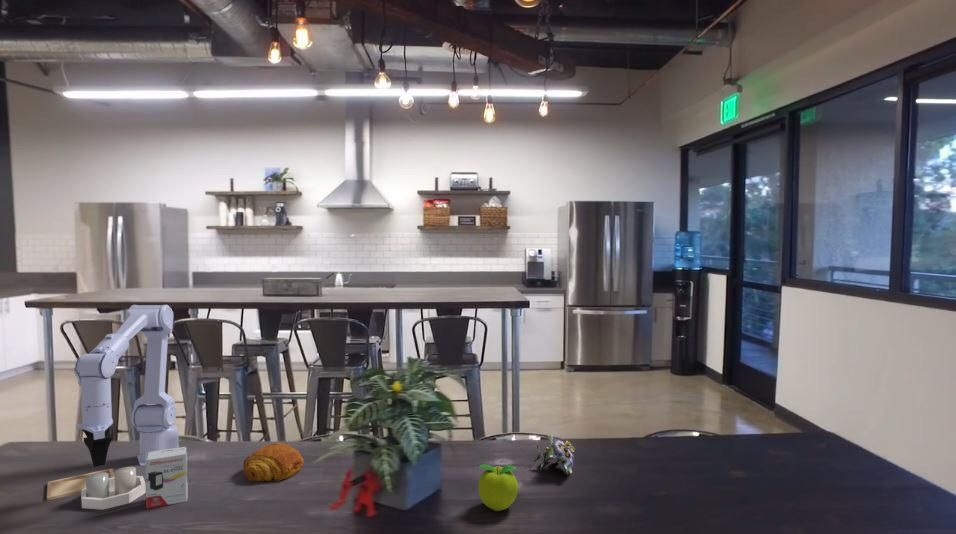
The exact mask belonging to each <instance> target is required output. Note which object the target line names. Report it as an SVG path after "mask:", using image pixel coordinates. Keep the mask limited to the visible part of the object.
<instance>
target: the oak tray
mask: <svg viewBox="0 0 956 534" xmlns="http://www.w3.org/2000/svg"><path fill="white" fill-rule="evenodd" d="M114 472H115V471H114V469H113V468H107V469H103V470H99V471H93V472H89V473H85V474H79V475H74V476H70V477H65V478H60V479H56V480H51V481H47V489H46V501H52V500H55V499H60V498H64V497H70V496H74V495H78V494H81V490H82V489H84V488H86V478H87V477H88V476H90V475H93V474H96V473H108V474H109V478H113V477H114Z"/></svg>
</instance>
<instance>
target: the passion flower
mask: <svg viewBox="0 0 956 534" xmlns="http://www.w3.org/2000/svg"><path fill="white" fill-rule="evenodd" d="M547 439H548V442H549V444H550V445H551V446H550V448H549V447H546V448H545V450H544V452H540V450H539V445H538V443H537V444H534V445H535V446H534V447H535V449H536V451H538V453H539V454H538V455H537V456H536V457H535V458H534V460H533V463H535V462H537V461H538V460H539V459H541V464H540V469H539V471H541V470H542V469H543V467H545V466H546V465H547V463H548V462H549V461H551V460H555V463H556V462H557V463H559V462H560V463H561V465H560V467H561V470H562V471H563V473H564V474H565V475H572V474H573V471H572V468H573V466H574V461H575V460H574V457H575V455H574V454H575V453H576V452H577V451H576V448H575V447H574V446H573V445H572V443H571V442H572V441H571V440H570V439H569V440H566V441H565V443H564V441H563V440H561V439H560V438H556V437H554V435H551V436H550V435H547ZM573 453H574V454H573ZM571 473H572V474H571Z"/></svg>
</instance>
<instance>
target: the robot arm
mask: <svg viewBox="0 0 956 534" xmlns="http://www.w3.org/2000/svg"><path fill="white" fill-rule="evenodd" d="M125 314H126V315H125V320H124V322H123V323H122V324H121V325H120V327H119V328H118V329H117V331H116V332H115V333H108V334H106V335H105V336H104V338H103V339H102V340H100V341H99V343H98V344H97V345H96V346H95V347H94V348H93V349H92V350H91V351H90V352H89V353H83V354H82V355H81V356H79V357H78V358H77V360H76V362H75V365H74V368H73V371H74V372H73V373H74V375H75V377H76V378H77V383H78V386H80V388H81V389H80V390H81V414H82V415H81V417H82V418H81V419H82V420H81V422H82V423H78V424H76V426H75V427H76V430H82V431H83V433H84V435H86V437H83V443H84V445H85V446H86V448H88V449H87V450H88V451H89V454H90V457H91V458H90V459H91V462H92V465H93V467H94V468H96V467H97V468H98V467H101V466H105V465H106V462H107V459H108V458H107V457H108V452H109V447H110V445H111V443H112V441H113V439H114V434H113V433H112V434H111V433H110V434H108V432H109V430H110V428H111V426H112V425H113V423H114V419H113V412H112V410H113V409H112V408H113V407H112V380H111V379H112V376H113V375H115V373H116V369H117V365H118V364H119V359H120V358H121V357H122V356H123V355H124V354H125V353H126V352H127V350H129V348H130V343H129V342H130V340H132V339H133V337H135V336H136V335H137V334H138V333H139V334H142V335H144V337H146V339H147V340H146V354H145V355H146V356H145V357H146V358H145V373H144V374H145V375H144V388H143V389H144V391H143V395H142V396H140V397H139V398H137V399H136V400H135V401H134V405H133V409H132V412H131V415H130V422H131V424H132V426H133V427H134V428H136V431H137V432H139V454H138V455H137V456H136V457H137V459H138V463H139V466H141V467H143V466H146V454H147V453H149V452H152V451H159V450H166V449H173V448H180V445H179V443H180V442H179V430H178V425H177V424H174V423H175V421H176V418H177V409H176V402H175V401H176V399H175V398H174V397H172V396H171V395H169V394H168V393H167V392H166V378H167V361H168V359H167V357H168V346H169V345H168V343H169V342H168V341H169V334H172V333H173V327H174V311H173V310H172V308H171V306H169V305H168V304H163V305H162V304H160V305H156V304H155V305H153V304H151V305H149V304H148V305H147V304H146V305H145V304H142V305H139V304H133V305H131V306H130V307H129V308H128V310H126V313H125Z"/></svg>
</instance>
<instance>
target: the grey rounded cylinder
mask: <svg viewBox="0 0 956 534" xmlns="http://www.w3.org/2000/svg"><path fill="white" fill-rule="evenodd" d="M113 472H114V478H115V495H120V494H124V493H127V492H129V491H131V490H132V489H134V488H136V476H137V468H136V467H135V466H126V467H125V466H124V467H121V468H119V469H117V470H115V471H113Z"/></svg>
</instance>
